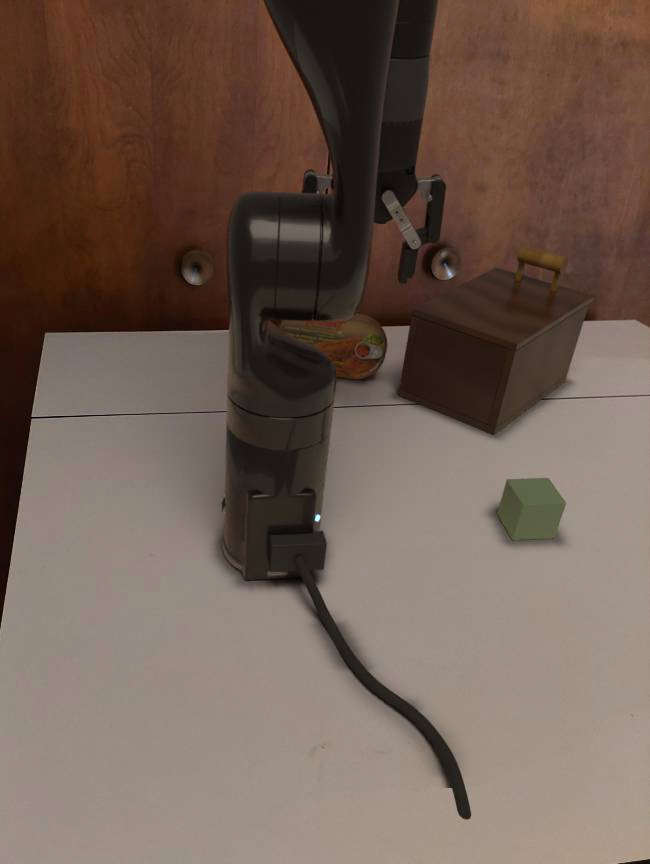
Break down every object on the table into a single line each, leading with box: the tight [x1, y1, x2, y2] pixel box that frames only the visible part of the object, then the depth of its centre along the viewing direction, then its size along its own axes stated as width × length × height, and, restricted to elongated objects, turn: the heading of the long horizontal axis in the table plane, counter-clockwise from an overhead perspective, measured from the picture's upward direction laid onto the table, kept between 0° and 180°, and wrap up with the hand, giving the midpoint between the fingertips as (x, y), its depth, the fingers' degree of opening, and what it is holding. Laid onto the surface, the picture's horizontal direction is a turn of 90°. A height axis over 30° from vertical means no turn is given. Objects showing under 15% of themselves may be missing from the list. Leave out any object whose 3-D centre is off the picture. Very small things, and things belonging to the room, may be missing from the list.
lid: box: [411, 245, 595, 351], centre depth 99 cm, size 21×14×5 cm
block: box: [496, 477, 567, 541], centre depth 82 cm, size 4×4×4 cm
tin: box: [277, 313, 388, 380], centre depth 107 cm, size 15×3×8 cm, turn 73°
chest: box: [397, 303, 590, 435], centre depth 104 cm, size 20×14×11 cm
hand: (361, 279), depth 84 cm, fingers open, 8 cm apart
